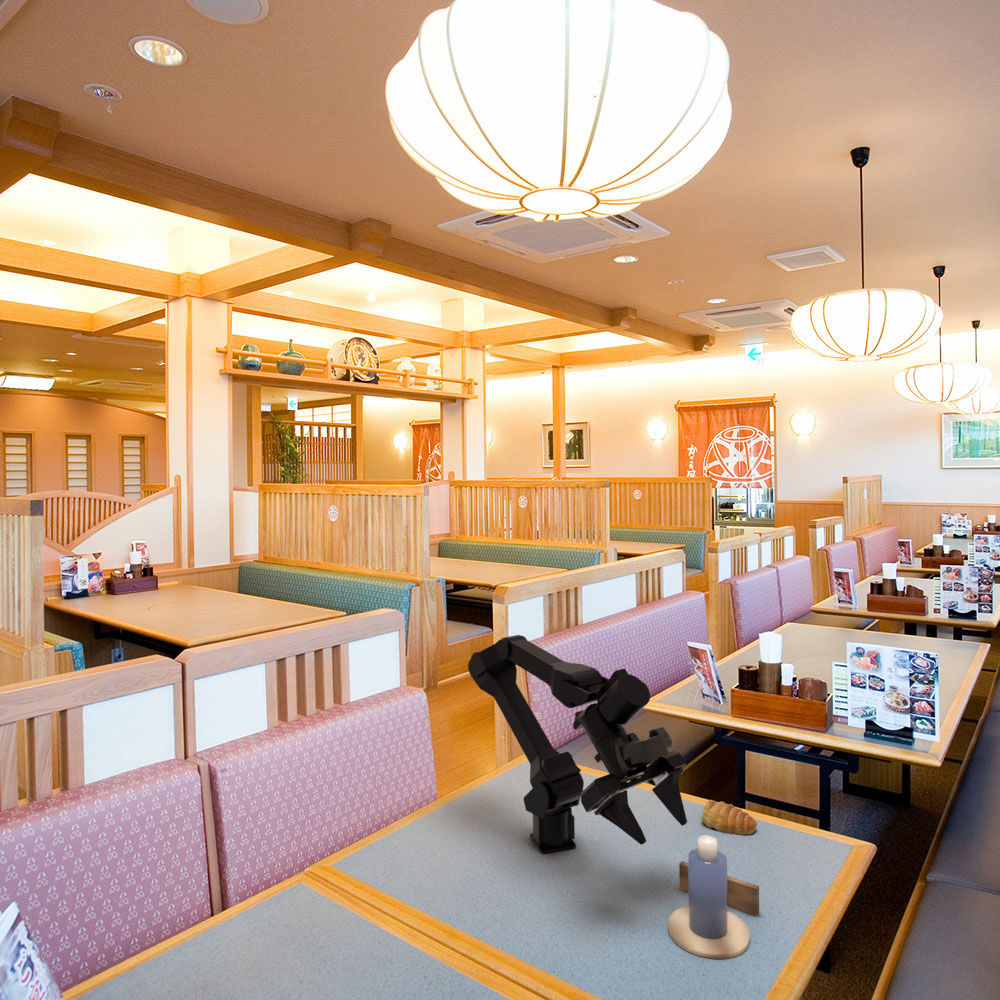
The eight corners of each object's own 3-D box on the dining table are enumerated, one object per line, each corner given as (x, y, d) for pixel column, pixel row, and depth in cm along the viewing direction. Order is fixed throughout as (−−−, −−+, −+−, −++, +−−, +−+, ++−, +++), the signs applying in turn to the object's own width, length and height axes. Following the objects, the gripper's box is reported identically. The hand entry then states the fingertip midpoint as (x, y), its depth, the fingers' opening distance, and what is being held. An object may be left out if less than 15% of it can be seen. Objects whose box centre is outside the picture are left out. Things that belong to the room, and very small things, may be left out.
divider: (679, 888, 114) (679, 863, 114) (682, 886, 115) (681, 860, 115) (757, 916, 107) (756, 889, 106) (759, 912, 107) (759, 885, 107)
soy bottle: (689, 936, 101) (688, 847, 100) (688, 914, 106) (687, 829, 105) (729, 941, 100) (728, 850, 99) (725, 918, 105) (725, 832, 104)
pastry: (761, 826, 134) (761, 806, 134) (749, 842, 129) (749, 820, 129) (711, 813, 140) (711, 793, 140) (698, 827, 134) (698, 807, 134)
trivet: (695, 966, 96) (695, 960, 96) (653, 918, 106) (653, 913, 106) (766, 949, 99) (766, 943, 99) (719, 904, 110) (719, 899, 110)
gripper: (593, 726, 106) (652, 829, 98) (676, 700, 118) (735, 791, 109) (557, 762, 113) (610, 862, 105) (639, 735, 124) (693, 823, 116)
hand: (665, 833), depth 108 cm, fingers open, 9 cm apart
